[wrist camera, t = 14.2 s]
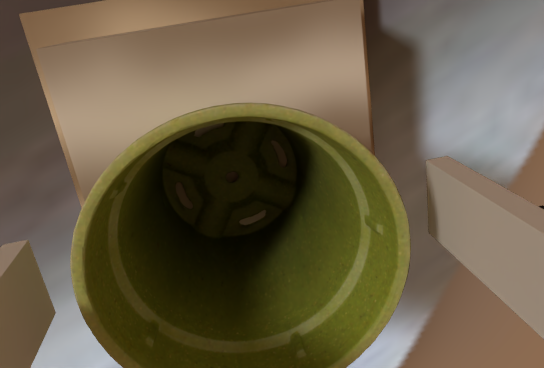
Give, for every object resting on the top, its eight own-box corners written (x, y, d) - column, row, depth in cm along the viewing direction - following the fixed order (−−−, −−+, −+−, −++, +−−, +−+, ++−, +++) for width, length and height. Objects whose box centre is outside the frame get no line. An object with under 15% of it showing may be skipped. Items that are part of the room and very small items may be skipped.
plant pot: (185, 298, 23) (180, 452, 15) (76, 128, 19) (-8, 209, 11) (359, 213, 23) (449, 323, 15) (280, 27, 19) (341, 37, 11)
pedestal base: (373, 239, 30) (409, 286, 25) (118, 293, 28) (101, 355, 23) (350, -37, 24) (392, -50, 19) (29, 13, 23) (-19, 14, 18)
